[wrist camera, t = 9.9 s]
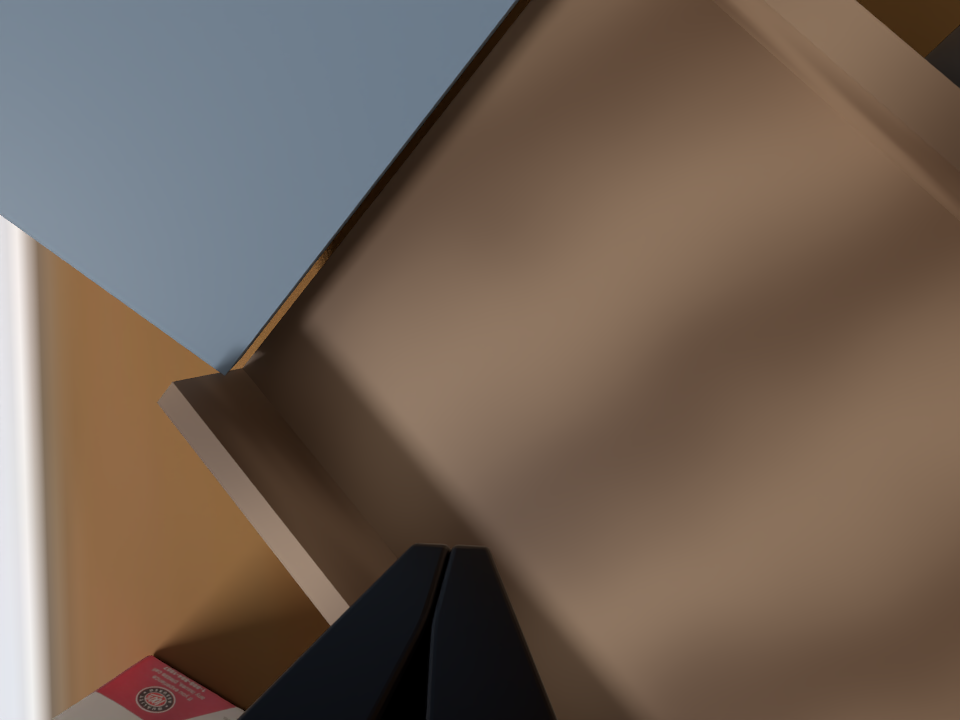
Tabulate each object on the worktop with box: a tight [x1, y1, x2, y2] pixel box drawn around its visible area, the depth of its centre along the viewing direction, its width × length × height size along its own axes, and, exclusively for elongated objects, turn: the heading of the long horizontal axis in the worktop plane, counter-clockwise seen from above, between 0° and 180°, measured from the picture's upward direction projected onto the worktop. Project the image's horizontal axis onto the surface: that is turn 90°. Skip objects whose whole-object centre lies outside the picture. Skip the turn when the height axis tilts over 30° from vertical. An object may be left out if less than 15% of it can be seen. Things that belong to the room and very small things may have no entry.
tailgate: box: [0, 0, 519, 376], centre depth 15 cm, size 1×14×10 cm
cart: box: [157, 0, 960, 720], centre depth 15 cm, size 18×19×4 cm
